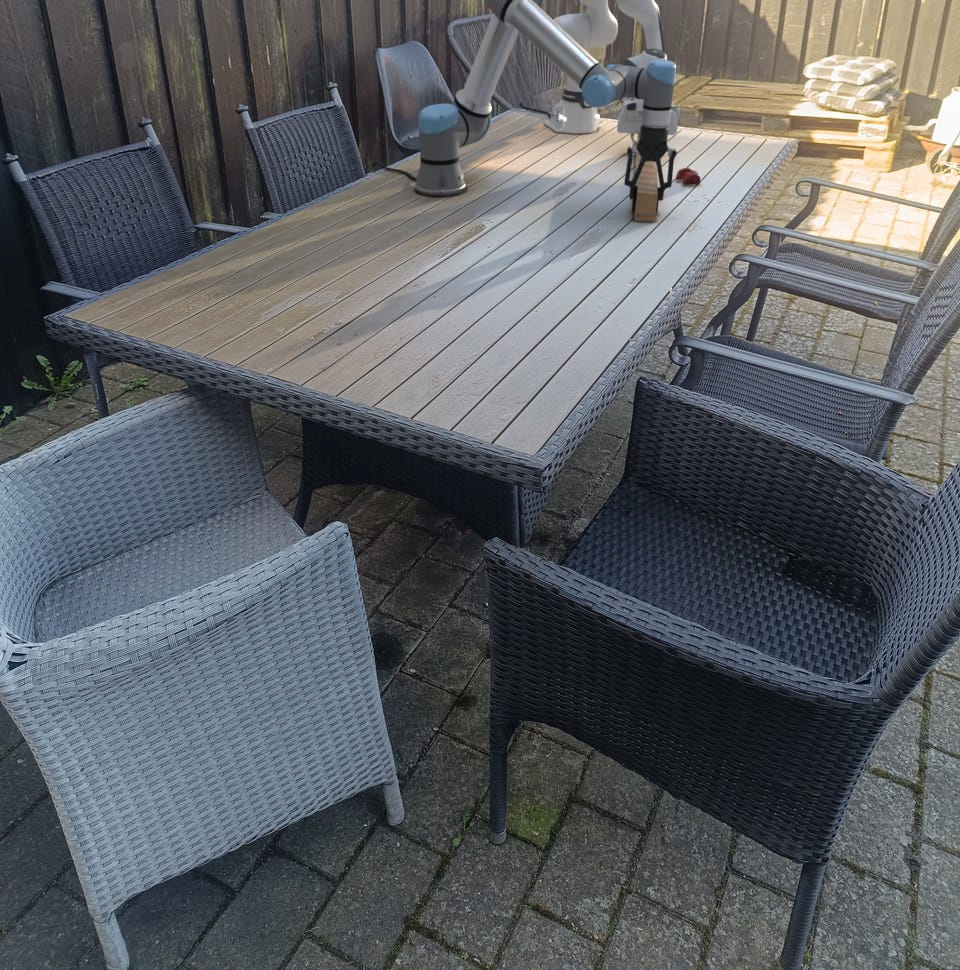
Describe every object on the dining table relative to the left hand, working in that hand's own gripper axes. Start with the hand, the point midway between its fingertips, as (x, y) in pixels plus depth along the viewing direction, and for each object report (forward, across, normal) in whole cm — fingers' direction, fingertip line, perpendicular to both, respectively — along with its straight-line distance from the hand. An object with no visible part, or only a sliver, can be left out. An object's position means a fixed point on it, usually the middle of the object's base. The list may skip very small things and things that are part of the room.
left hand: (644, 210), depth 240 cm
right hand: (-2, 0, -62) cm, 62 cm away
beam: (+1, 0, -31) cm, 31 cm away
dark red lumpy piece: (+1, -14, -32) cm, 35 cm away
